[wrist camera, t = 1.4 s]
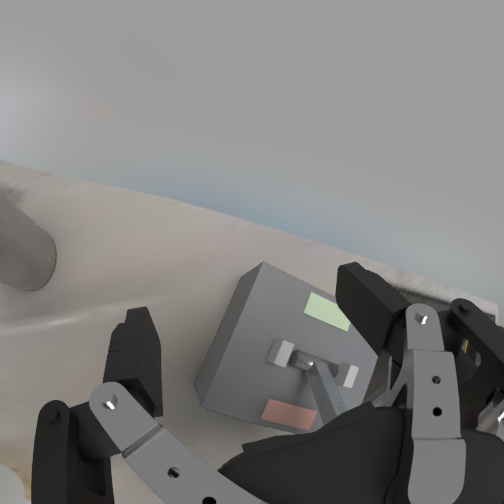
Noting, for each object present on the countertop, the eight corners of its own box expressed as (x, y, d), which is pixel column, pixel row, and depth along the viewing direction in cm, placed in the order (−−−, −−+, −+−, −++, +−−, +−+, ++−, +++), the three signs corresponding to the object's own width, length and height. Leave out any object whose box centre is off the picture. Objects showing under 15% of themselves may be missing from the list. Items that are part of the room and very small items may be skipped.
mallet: (281, 362, 26) (314, 501, 10) (296, 340, 26) (346, 480, 10) (326, 377, 27) (378, 497, 11) (342, 357, 27) (407, 475, 11)
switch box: (194, 384, 32) (203, 413, 21) (241, 277, 37) (270, 256, 26) (308, 419, 34) (355, 446, 23) (344, 324, 40) (399, 321, 28)
